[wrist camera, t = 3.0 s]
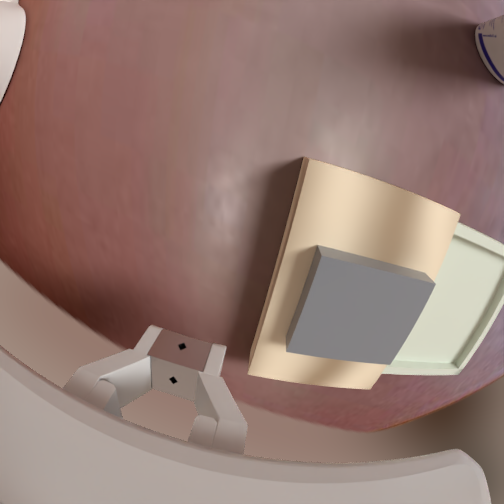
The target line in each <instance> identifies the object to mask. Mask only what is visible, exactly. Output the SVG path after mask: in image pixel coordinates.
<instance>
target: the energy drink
mask: <svg viewBox="0 0 504 504" xmlns="http://www.w3.org/2000/svg"><path fill="white" fill-rule="evenodd" d="M475 41H476V46H477V49H478V52H479V54H480V56H481V58H482V60H483V62H484V64H485V65H486V67H487V68H488V70H489V71H490V72H491V74H492V75H493V76H494V77H495V78H496V79H497V80H499V81H500V82H501V83H503V84H504V15H502V16H500V17H497V18H494V19H492V20H489V21H487V22H484V23H482V24H479V25H478V26H477V28H476V31H475Z"/></svg>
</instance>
